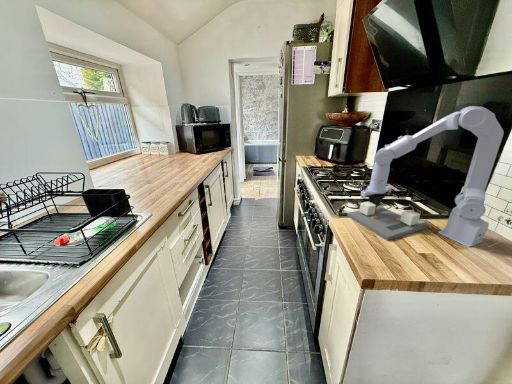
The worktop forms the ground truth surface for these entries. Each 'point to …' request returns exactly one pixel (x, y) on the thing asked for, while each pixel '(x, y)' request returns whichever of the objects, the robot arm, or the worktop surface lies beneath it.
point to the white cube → (409, 217)
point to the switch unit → (386, 222)
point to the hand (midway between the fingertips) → (372, 209)
